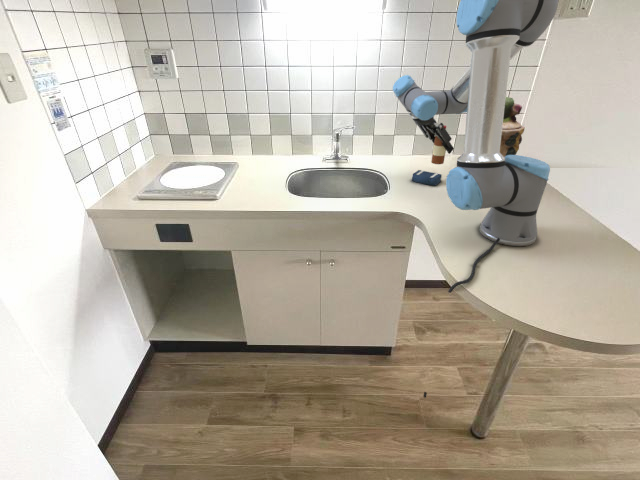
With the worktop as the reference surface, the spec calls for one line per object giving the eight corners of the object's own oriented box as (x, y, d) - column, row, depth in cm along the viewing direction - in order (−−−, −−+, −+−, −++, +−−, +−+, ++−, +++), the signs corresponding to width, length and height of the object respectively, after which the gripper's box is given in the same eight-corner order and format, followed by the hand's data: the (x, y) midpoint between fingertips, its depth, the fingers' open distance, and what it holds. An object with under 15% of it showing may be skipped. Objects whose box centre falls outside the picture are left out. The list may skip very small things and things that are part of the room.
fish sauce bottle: (441, 165, 144) (447, 127, 136) (429, 163, 146) (434, 126, 139) (445, 162, 147) (451, 125, 140) (433, 160, 150) (439, 124, 142)
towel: (433, 187, 139) (434, 179, 138) (410, 182, 145) (411, 174, 143) (440, 181, 145) (441, 174, 143) (417, 177, 150) (418, 169, 148)
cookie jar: (459, 180, 146) (475, 98, 130) (458, 162, 166) (471, 90, 151) (524, 185, 139) (549, 100, 124) (515, 167, 160) (535, 92, 144)
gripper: (399, 115, 138) (425, 151, 153) (431, 124, 124) (456, 162, 139) (411, 100, 138) (436, 137, 152) (444, 107, 124) (468, 147, 138)
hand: (446, 149), depth 146 cm, fingers closed on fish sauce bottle, 5 cm apart
